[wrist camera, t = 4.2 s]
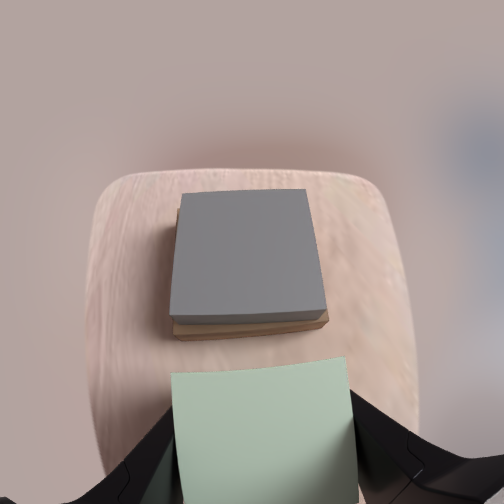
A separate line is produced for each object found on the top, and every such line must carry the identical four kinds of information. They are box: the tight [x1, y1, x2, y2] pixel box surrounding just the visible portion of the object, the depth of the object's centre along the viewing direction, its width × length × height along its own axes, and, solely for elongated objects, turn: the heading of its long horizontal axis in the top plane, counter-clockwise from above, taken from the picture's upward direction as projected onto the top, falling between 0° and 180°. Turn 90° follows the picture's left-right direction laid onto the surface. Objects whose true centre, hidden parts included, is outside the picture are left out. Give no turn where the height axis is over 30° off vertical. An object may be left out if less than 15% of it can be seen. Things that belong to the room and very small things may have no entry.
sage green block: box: [171, 356, 359, 504], centre depth 10 cm, size 6×6×8 cm
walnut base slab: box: [173, 209, 329, 341], centre depth 18 cm, size 9×9×2 cm
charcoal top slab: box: [169, 189, 327, 325], centre depth 16 cm, size 8×8×2 cm
